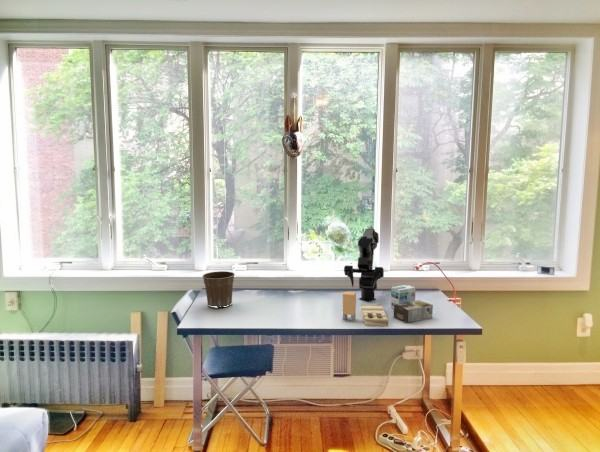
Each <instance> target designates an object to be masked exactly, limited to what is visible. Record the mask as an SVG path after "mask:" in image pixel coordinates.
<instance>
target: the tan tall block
mask: <svg viewBox="0 0 600 452" xmlns="http://www.w3.org/2000/svg"><path fill="white" fill-rule="evenodd" d="M356 298H357V292H353V291H352V292H351V291H344V292H343V293H342V321H346V320H347V319H348V315H350V322H355V320H357V319H356V316H357V313H356V311H357V307H356V305H357V299H356Z"/></svg>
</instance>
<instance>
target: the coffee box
mask: <svg viewBox="0 0 600 452" xmlns="http://www.w3.org/2000/svg"><path fill="white" fill-rule="evenodd" d="M433 309H434V304H432V303H429V302H426V301H424V300H421V299H415V301H410V302H405V303H400V304H395V305H394V309H393V318H395V319H397V320H399V321H401V322H404V323H405V324H409V323H412V322H413V323H414V322H417V321H421V320H426V319H427V320H428V319H430V318H433Z"/></svg>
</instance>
